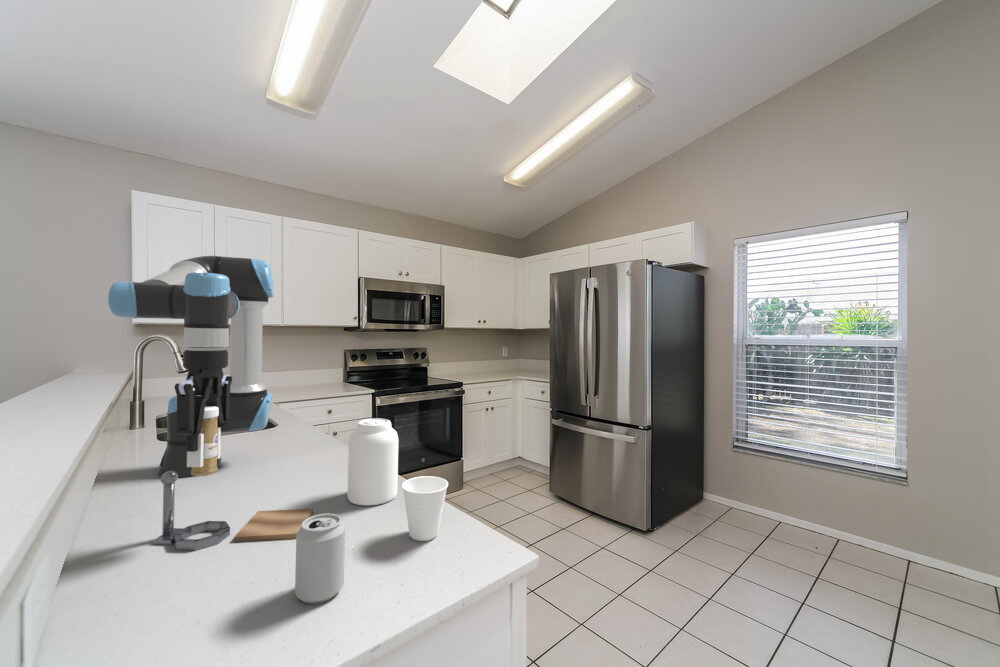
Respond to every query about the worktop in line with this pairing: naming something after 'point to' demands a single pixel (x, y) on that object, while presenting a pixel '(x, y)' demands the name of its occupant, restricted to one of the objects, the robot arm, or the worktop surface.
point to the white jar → (373, 463)
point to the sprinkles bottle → (208, 442)
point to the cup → (424, 505)
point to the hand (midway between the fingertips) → (204, 462)
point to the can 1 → (320, 558)
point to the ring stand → (180, 534)
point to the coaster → (273, 525)
